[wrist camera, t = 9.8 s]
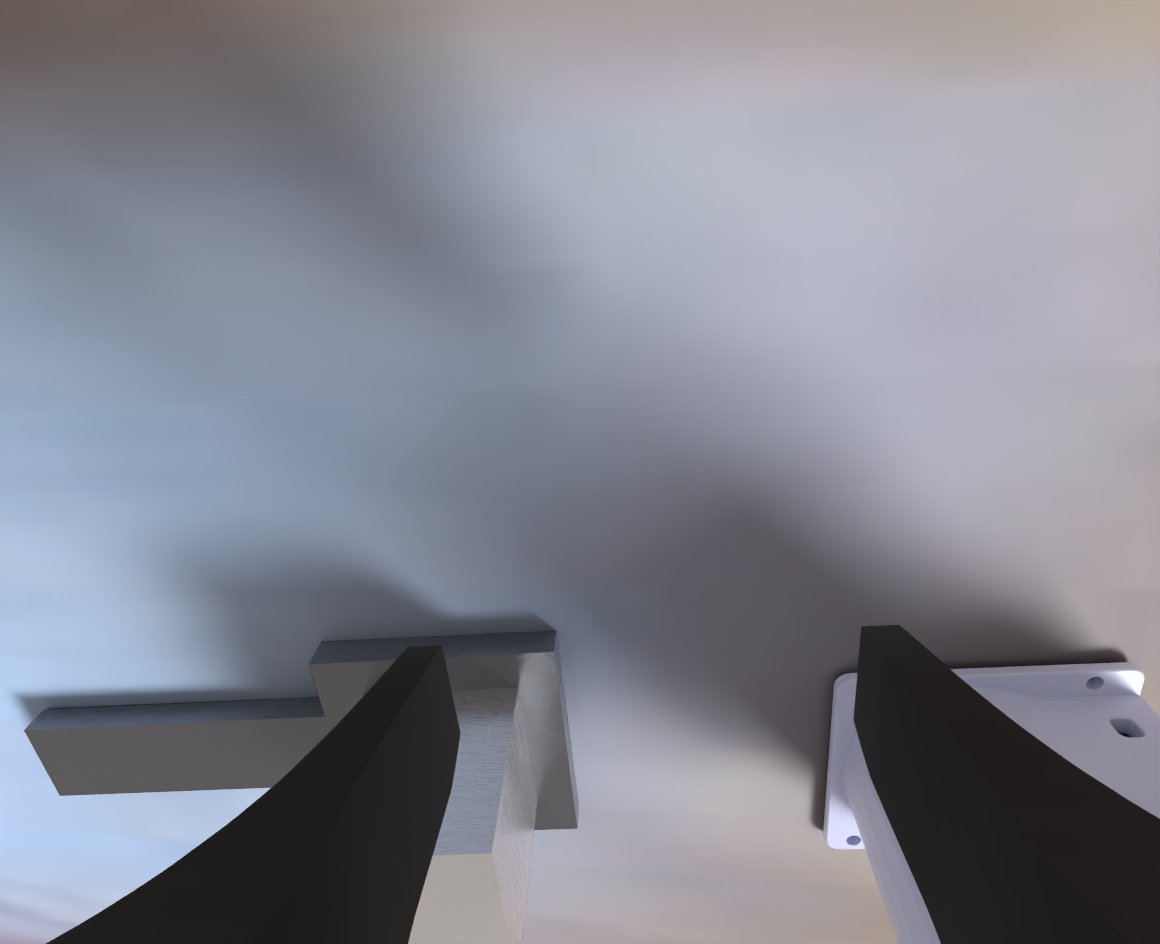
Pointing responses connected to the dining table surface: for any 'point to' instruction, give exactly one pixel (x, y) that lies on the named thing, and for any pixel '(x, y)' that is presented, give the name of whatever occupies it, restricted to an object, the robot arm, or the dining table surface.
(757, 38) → the dining table surface
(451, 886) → the brushed metal cube
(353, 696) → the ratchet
